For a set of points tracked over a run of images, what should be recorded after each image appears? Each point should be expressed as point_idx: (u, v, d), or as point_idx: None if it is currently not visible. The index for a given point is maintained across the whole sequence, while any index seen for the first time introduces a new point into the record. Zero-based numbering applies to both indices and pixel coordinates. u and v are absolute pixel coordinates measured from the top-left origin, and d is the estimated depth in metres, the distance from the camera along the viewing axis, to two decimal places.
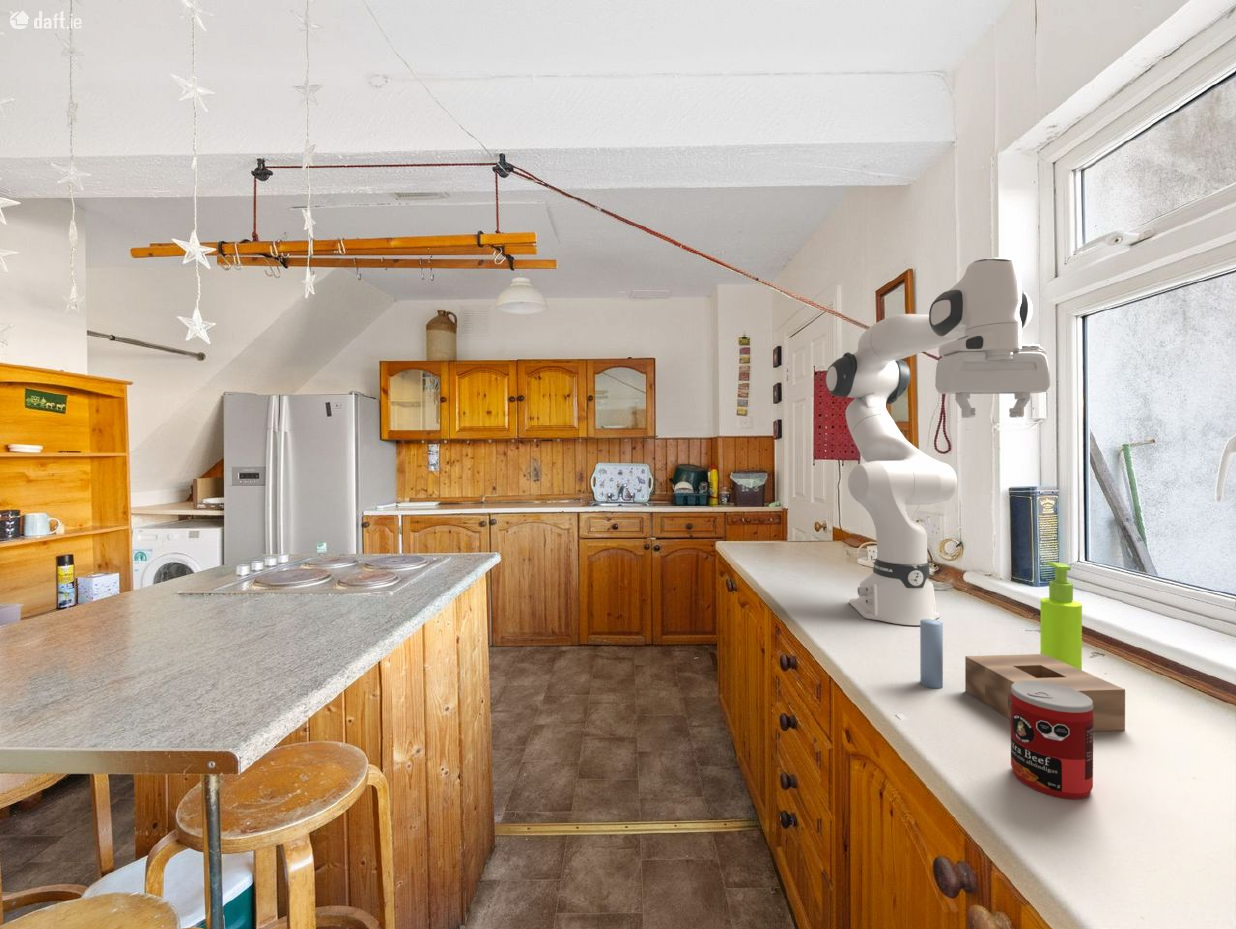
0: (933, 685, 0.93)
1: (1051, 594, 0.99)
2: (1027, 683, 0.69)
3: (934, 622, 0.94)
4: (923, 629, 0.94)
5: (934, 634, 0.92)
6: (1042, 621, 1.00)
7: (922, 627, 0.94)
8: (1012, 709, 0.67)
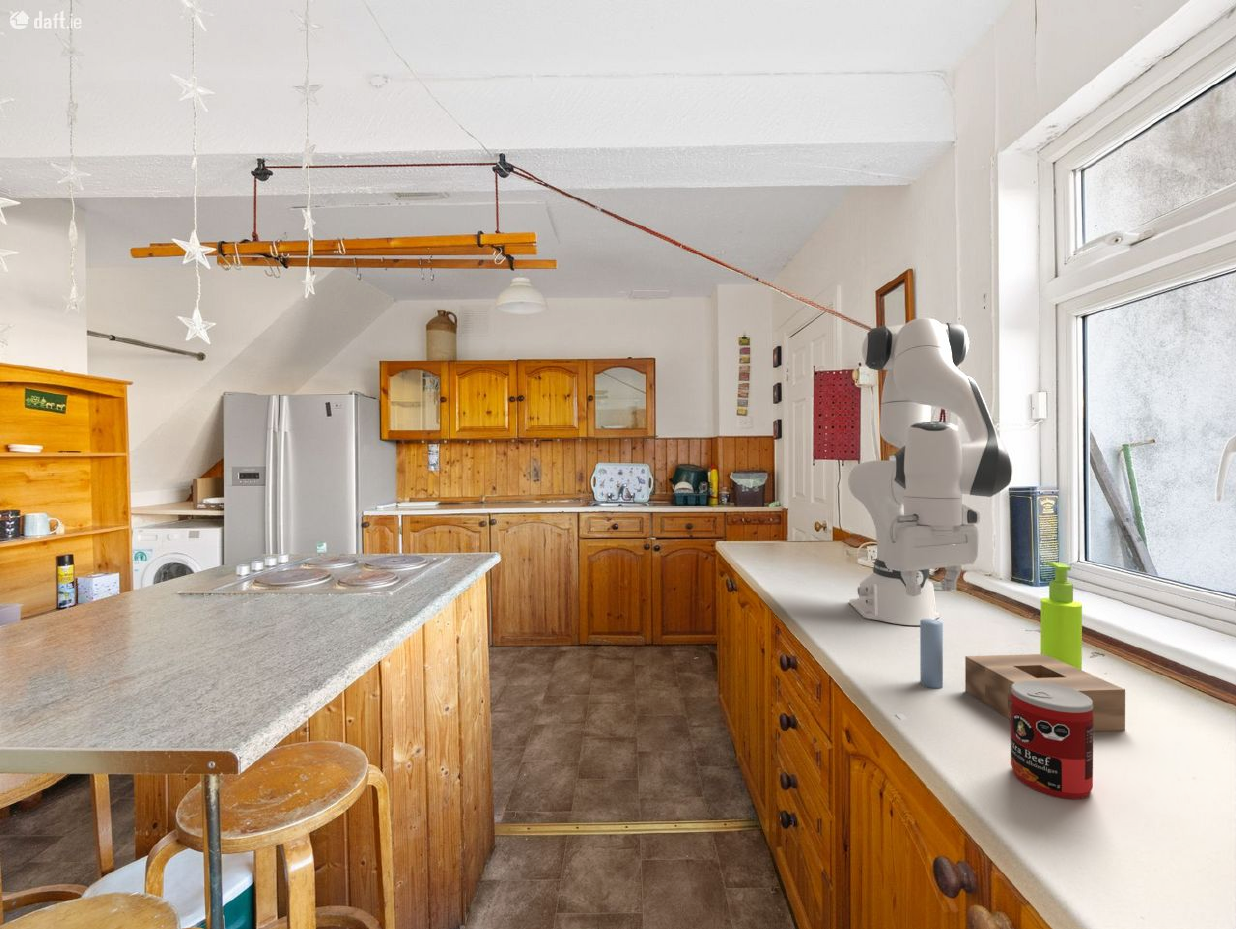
0: (933, 685, 0.93)
1: (1051, 594, 0.99)
2: (1027, 683, 0.69)
3: (934, 622, 0.94)
4: (923, 629, 0.94)
5: (934, 634, 0.93)
6: (1042, 621, 1.00)
7: (922, 627, 0.94)
8: (1012, 709, 0.67)
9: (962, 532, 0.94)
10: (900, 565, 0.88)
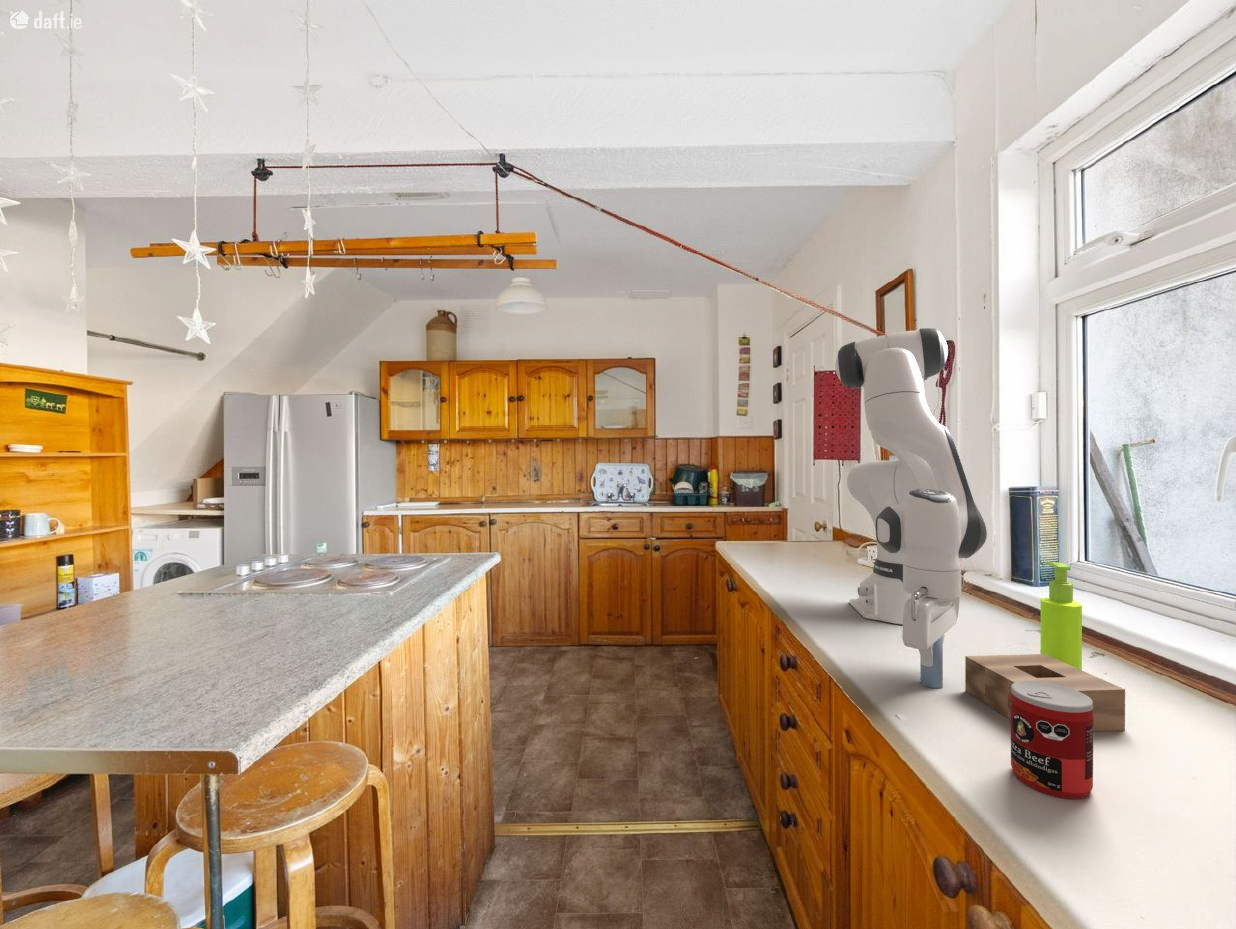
0: (933, 685, 0.93)
1: (1051, 594, 0.99)
2: (1027, 683, 0.69)
3: None
4: None
5: None
6: (1042, 621, 1.00)
7: None
8: (1012, 709, 0.67)
9: None
10: (924, 645, 0.86)
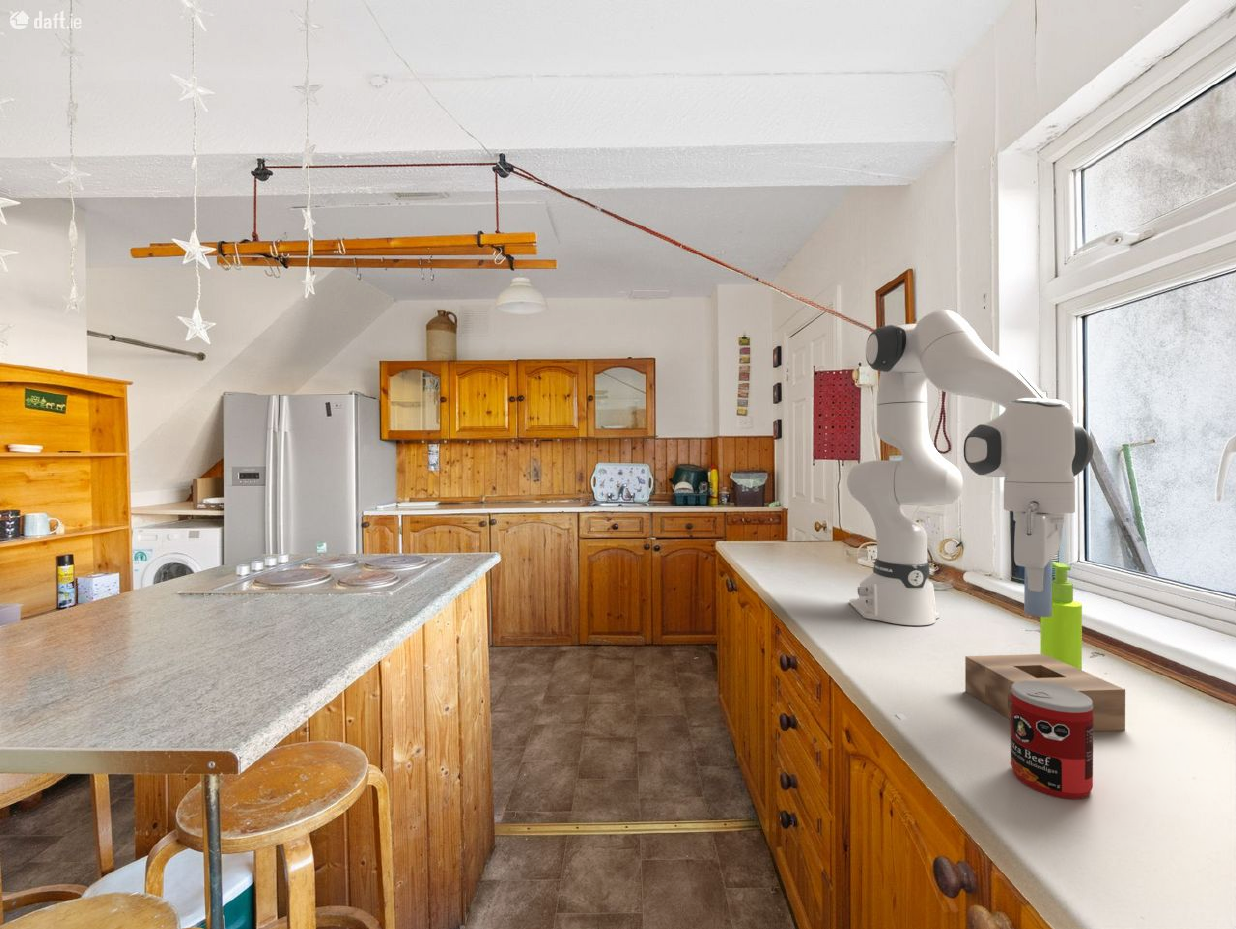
0: (1042, 613, 0.83)
1: None
2: (1027, 683, 0.69)
3: None
4: None
5: None
6: (1042, 621, 1.00)
7: None
8: (1012, 709, 0.67)
9: None
10: (1042, 561, 0.76)
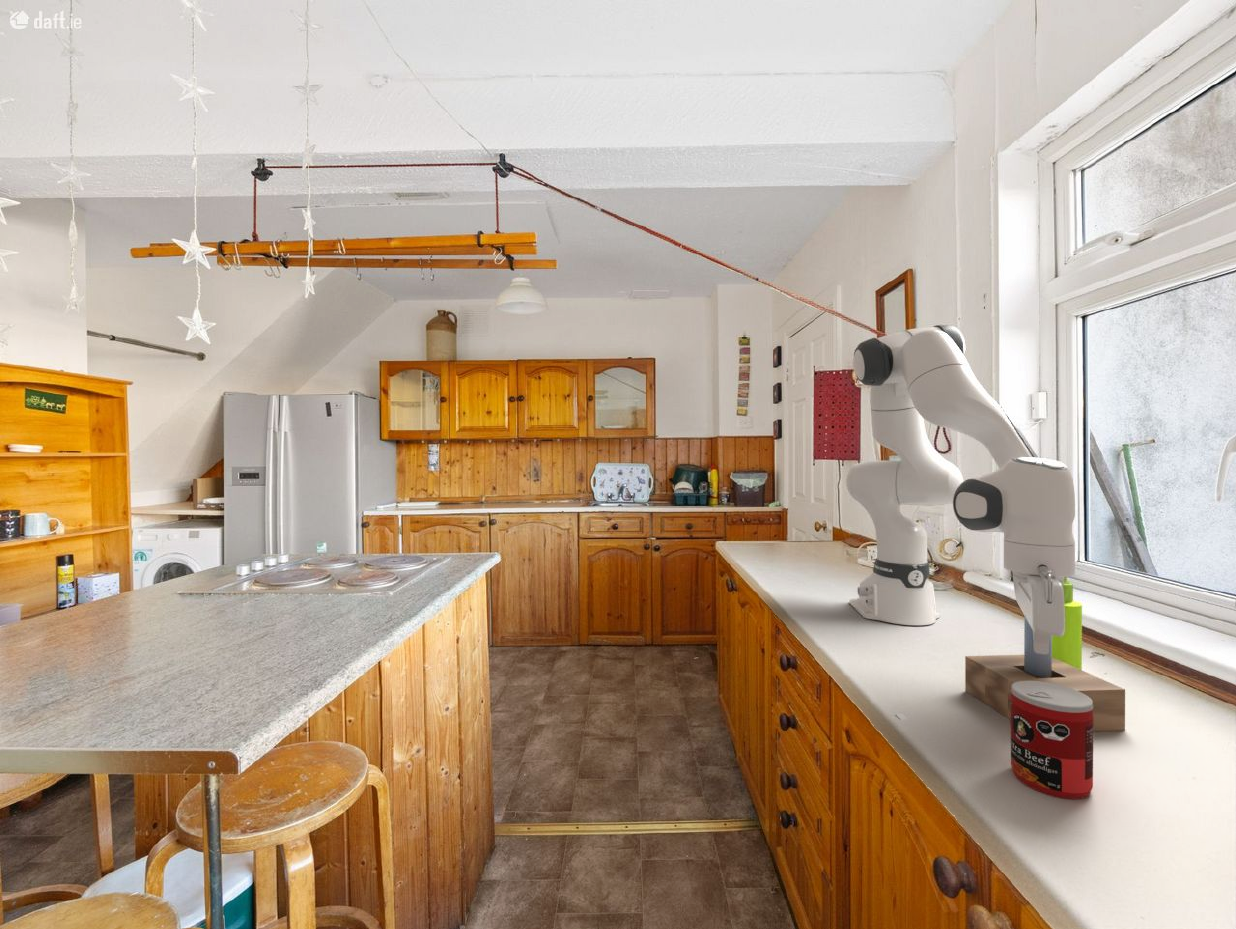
0: (1045, 674, 0.83)
1: None
2: (1027, 683, 0.69)
3: None
4: None
5: None
6: None
7: None
8: (1012, 709, 0.67)
9: None
10: (1063, 630, 0.75)
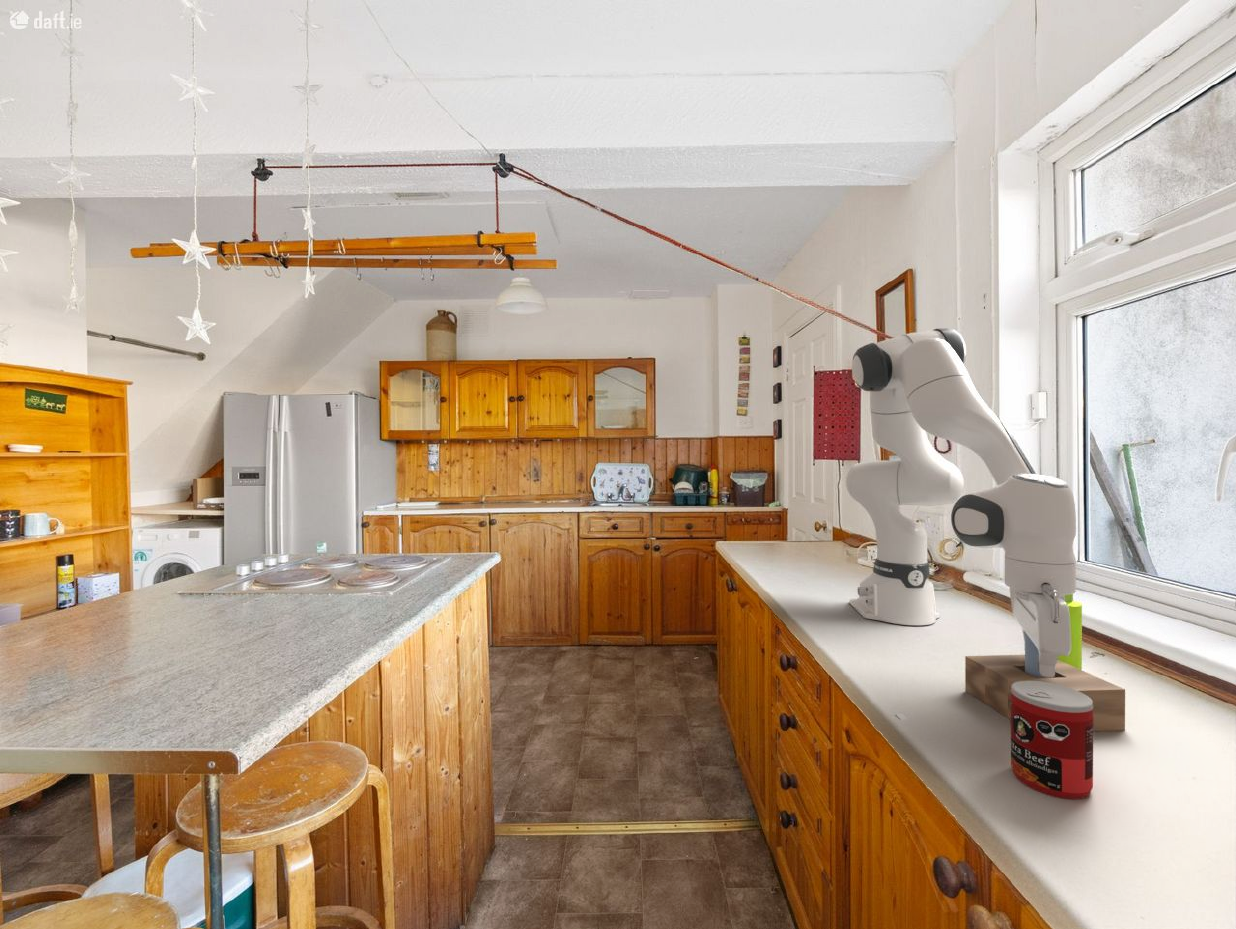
0: None
1: None
2: (1027, 683, 0.69)
3: None
4: (1034, 645, 0.84)
5: None
6: None
7: (1032, 644, 0.84)
8: (1012, 709, 0.67)
9: None
10: (1069, 650, 0.75)
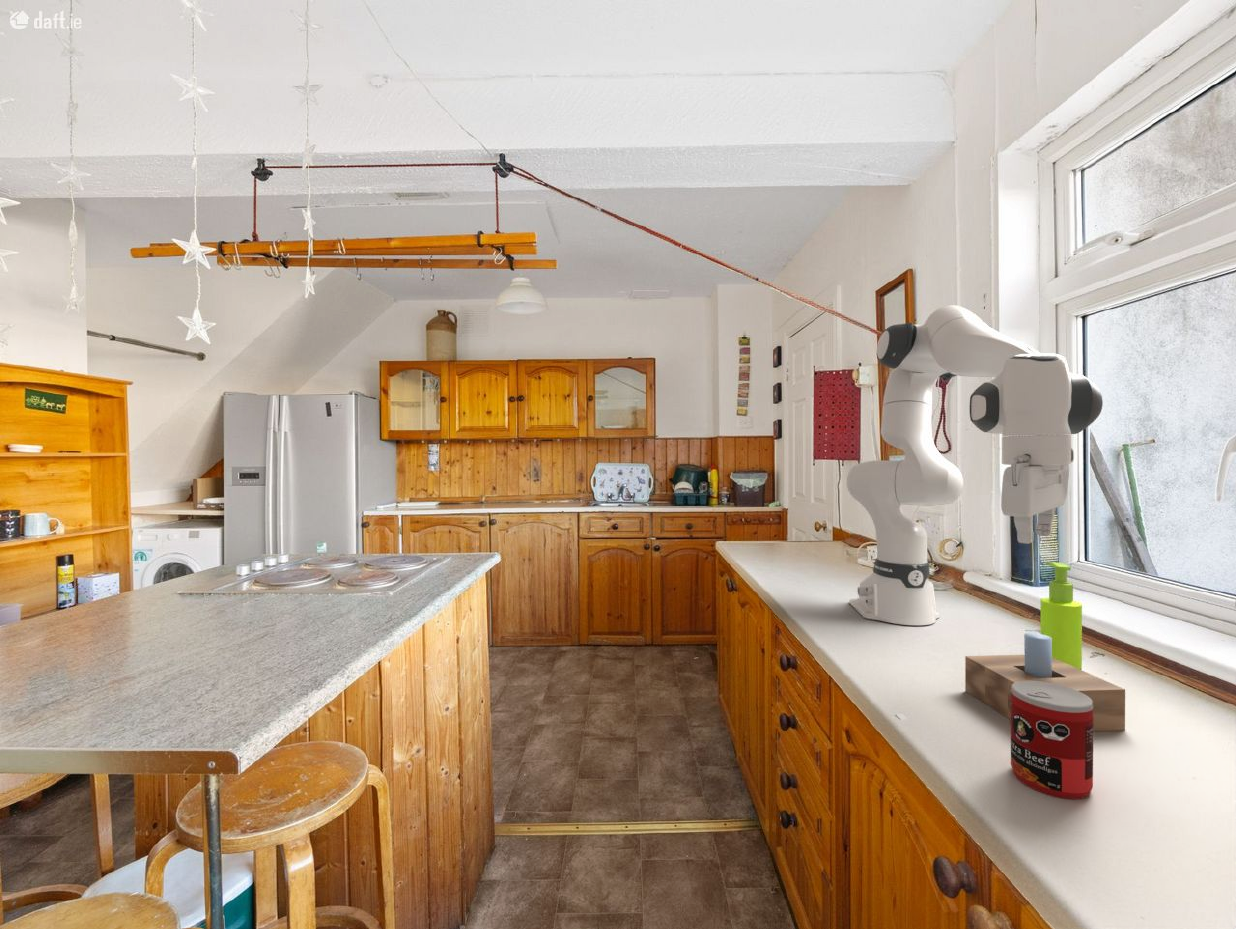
0: None
1: (1051, 594, 0.99)
2: (1027, 683, 0.69)
3: (1041, 636, 0.85)
4: (1033, 645, 0.84)
5: (1046, 650, 0.83)
6: (1042, 621, 1.00)
7: (1031, 644, 0.84)
8: (1012, 709, 0.67)
9: (1060, 472, 0.88)
10: (1027, 510, 0.79)
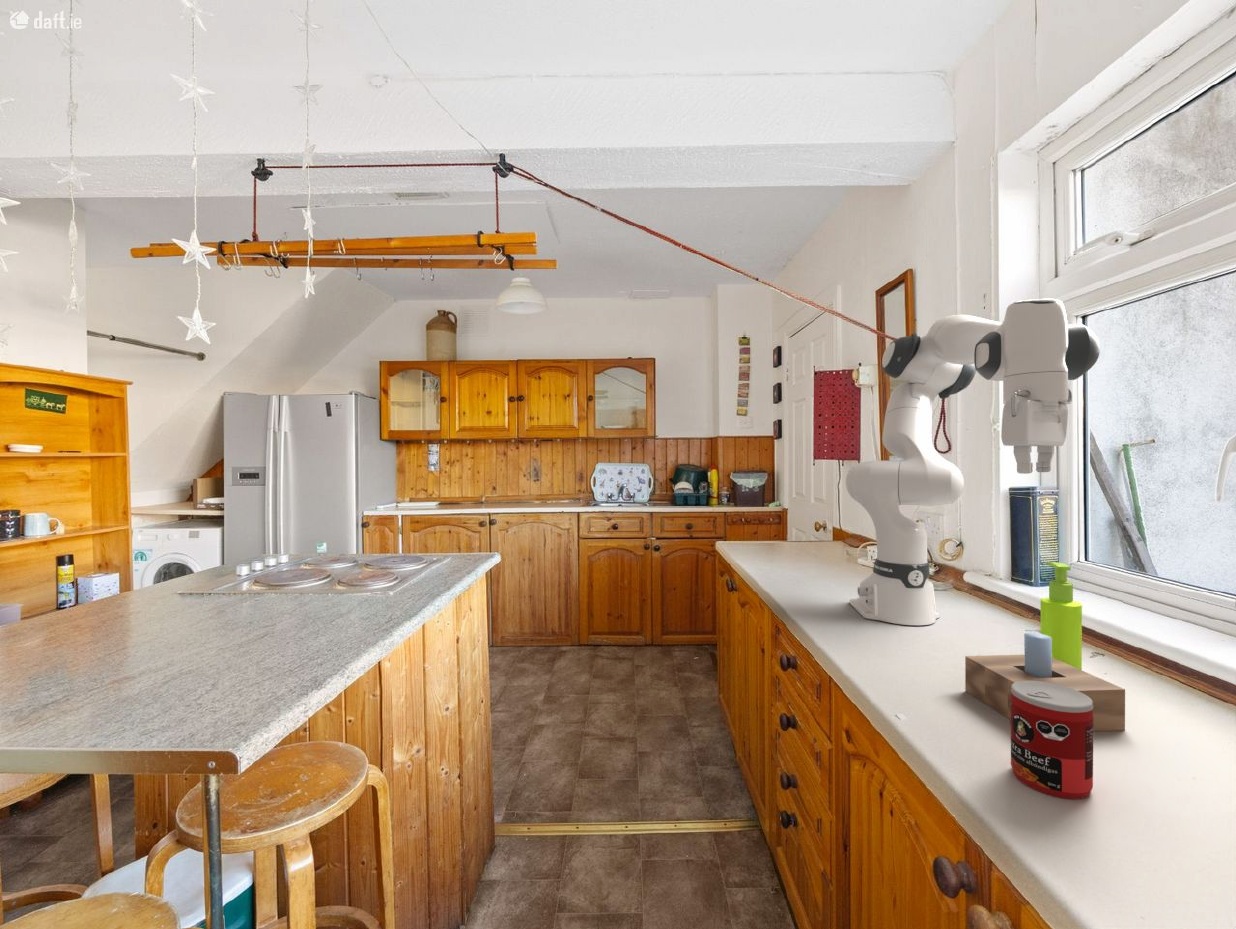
0: None
1: (1051, 594, 0.99)
2: (1027, 683, 0.69)
3: (1041, 636, 0.85)
4: (1033, 644, 0.84)
5: (1046, 649, 0.83)
6: (1042, 621, 1.00)
7: (1031, 643, 0.84)
8: (1012, 709, 0.67)
9: (1059, 412, 0.94)
10: (1025, 438, 0.85)
